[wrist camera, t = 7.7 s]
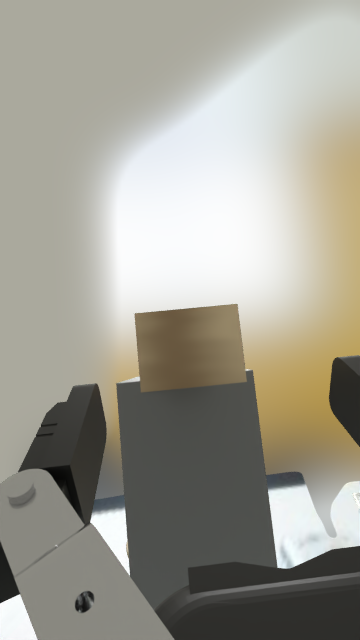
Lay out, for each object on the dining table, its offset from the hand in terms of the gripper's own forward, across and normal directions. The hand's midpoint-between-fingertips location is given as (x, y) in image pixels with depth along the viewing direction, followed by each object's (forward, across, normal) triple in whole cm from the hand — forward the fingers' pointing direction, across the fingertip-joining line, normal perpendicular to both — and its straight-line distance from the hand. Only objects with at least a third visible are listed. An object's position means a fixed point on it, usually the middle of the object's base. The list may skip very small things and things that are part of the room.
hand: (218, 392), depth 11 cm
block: (+14, -1, -8) cm, 16 cm away
